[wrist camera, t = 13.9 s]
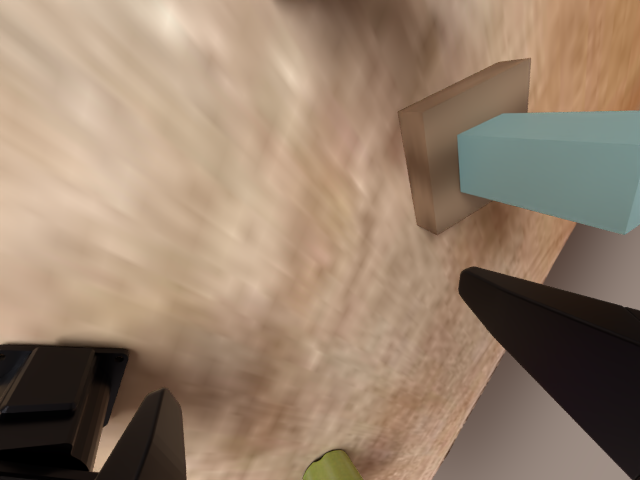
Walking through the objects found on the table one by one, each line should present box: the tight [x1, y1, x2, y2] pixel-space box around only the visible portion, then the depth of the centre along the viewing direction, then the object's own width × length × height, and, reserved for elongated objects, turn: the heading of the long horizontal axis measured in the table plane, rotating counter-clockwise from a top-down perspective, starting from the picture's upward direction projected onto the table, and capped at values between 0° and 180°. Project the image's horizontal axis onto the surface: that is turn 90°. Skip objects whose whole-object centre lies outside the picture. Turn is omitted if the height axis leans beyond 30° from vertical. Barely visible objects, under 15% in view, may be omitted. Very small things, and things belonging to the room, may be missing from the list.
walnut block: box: [398, 58, 531, 235], centre depth 23 cm, size 10×10×3 cm
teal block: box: [457, 111, 640, 235], centre depth 18 cm, size 4×4×10 cm
